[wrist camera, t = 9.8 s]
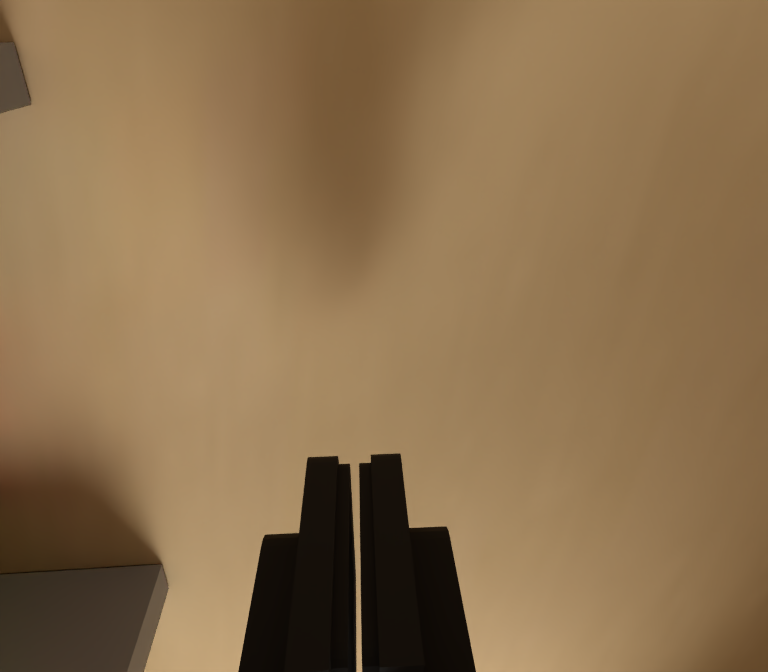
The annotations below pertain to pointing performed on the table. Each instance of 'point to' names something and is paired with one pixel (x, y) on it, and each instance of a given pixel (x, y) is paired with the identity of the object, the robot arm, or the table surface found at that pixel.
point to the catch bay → (74, 572)
